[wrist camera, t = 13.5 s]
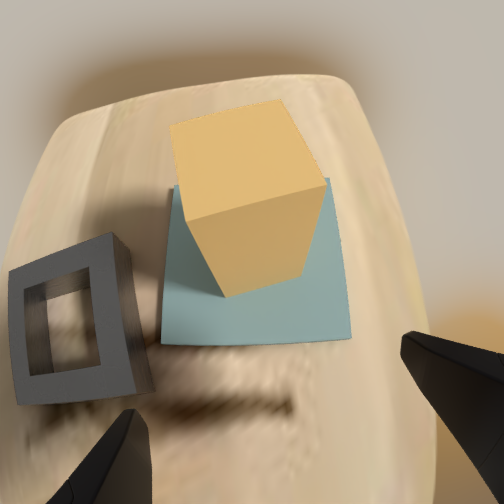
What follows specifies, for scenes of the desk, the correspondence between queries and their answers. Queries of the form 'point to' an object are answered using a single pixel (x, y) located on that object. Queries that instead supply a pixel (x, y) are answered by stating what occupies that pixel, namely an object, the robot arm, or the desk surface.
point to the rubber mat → (255, 293)
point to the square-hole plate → (105, 319)
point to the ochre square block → (248, 193)
